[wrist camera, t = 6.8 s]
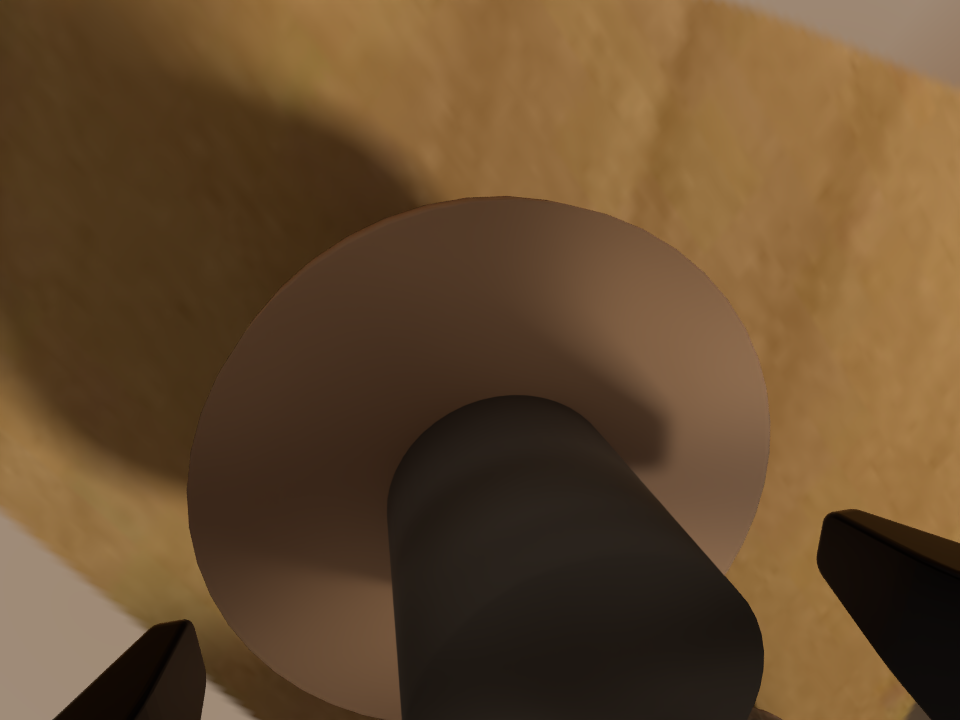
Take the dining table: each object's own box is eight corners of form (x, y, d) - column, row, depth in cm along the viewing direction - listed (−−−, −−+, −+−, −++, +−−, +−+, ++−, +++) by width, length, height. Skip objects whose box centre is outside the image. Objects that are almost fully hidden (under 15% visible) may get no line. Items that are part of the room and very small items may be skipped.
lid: (722, 623, 13) (917, 873, 9) (274, 730, 12) (216, 1105, 7) (754, 166, 10) (1110, 170, 5) (125, 234, 8) (-177, 329, 4)
